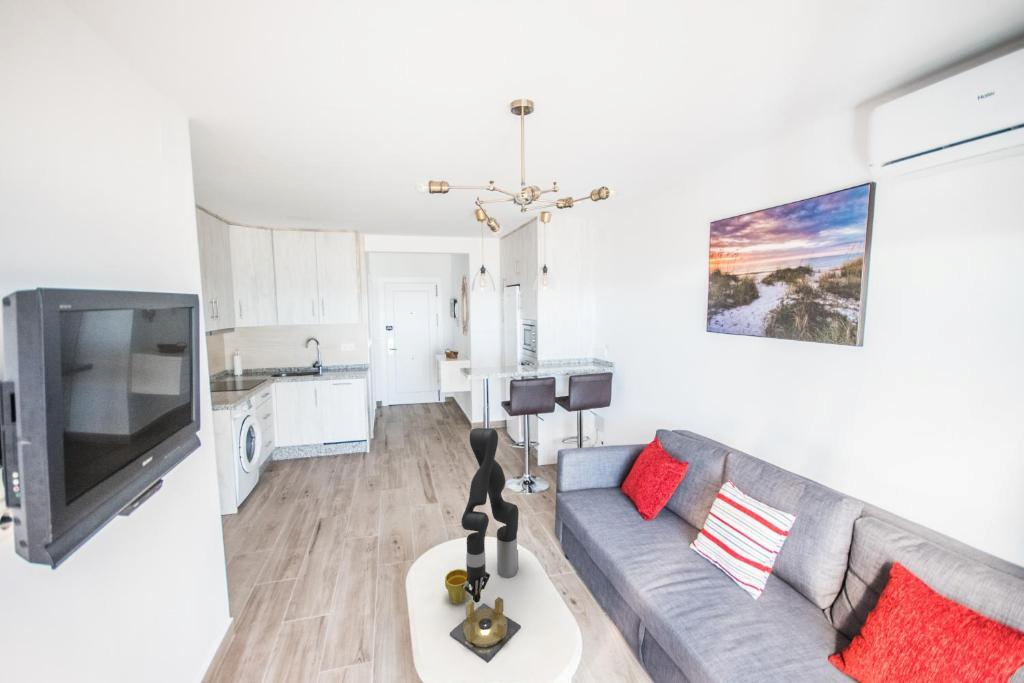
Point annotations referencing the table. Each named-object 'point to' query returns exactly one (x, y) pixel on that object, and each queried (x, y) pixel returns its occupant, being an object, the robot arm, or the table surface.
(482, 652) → the flange plate
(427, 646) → the table surface
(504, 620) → the pegged brass disc
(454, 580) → the plant pot
